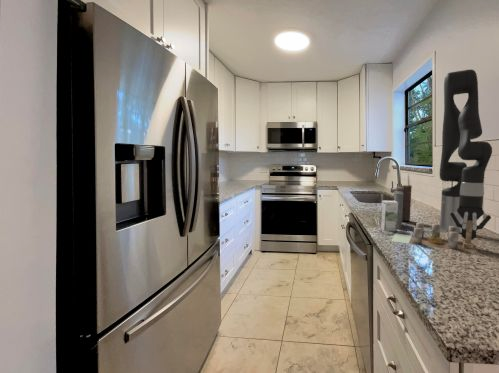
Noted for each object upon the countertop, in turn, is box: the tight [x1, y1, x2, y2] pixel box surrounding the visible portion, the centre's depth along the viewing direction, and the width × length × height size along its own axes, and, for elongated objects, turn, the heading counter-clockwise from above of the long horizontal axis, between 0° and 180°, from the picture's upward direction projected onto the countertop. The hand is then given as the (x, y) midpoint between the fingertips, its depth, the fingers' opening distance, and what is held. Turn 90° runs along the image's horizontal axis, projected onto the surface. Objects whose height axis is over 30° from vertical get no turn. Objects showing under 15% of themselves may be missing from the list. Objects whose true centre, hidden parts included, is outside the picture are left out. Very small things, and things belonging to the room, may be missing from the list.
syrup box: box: [380, 200, 398, 232], centre depth 156 cm, size 6×6×14 cm
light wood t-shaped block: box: [462, 220, 474, 249], centre depth 125 cm, size 3×7×10 cm, turn 149°
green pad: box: [390, 233, 412, 245], centre depth 138 cm, size 6×16×1 cm, turn 149°
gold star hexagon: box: [428, 235, 443, 244], centre depth 131 cm, size 5×4×2 cm
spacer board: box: [408, 222, 478, 253], centre depth 130 cm, size 22×16×7 cm
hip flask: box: [393, 186, 404, 230], centre depth 167 cm, size 16×4×20 cm, turn 159°
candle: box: [397, 184, 412, 222], centre depth 180 cm, size 8×7×20 cm
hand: (468, 238), depth 125 cm, fingers closed on light wood t-shaped block, 2 cm apart
